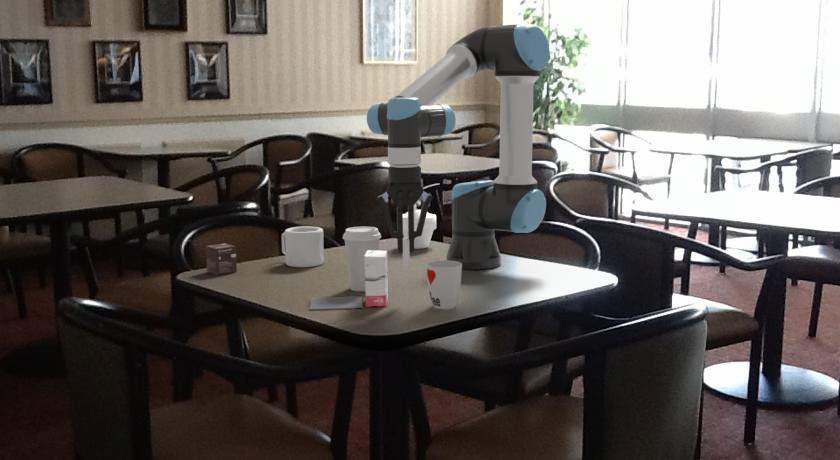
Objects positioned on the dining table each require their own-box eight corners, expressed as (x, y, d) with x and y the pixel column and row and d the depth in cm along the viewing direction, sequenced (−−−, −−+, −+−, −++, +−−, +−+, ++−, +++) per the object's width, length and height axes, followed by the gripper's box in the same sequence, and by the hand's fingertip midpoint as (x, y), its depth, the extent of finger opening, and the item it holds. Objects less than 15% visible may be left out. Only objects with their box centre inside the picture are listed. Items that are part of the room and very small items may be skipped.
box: (217, 275, 258) (216, 248, 257) (206, 272, 263) (205, 245, 261) (237, 272, 262) (236, 245, 261) (226, 269, 267) (224, 243, 265)
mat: (361, 297, 231) (361, 296, 231) (362, 308, 220) (362, 307, 220) (311, 298, 230) (311, 297, 230) (309, 310, 219) (309, 309, 219)
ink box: (386, 307, 222) (385, 256, 220) (364, 307, 222) (363, 256, 220) (388, 298, 230) (387, 249, 228) (368, 298, 230) (367, 249, 228)
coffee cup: (353, 294, 234) (351, 233, 232) (338, 287, 242) (336, 228, 240) (388, 290, 238) (387, 230, 236) (372, 282, 247) (371, 224, 244)
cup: (425, 303, 225) (424, 260, 223) (459, 301, 225) (459, 259, 224) (428, 311, 217) (428, 268, 215) (464, 310, 217) (464, 266, 216)
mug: (331, 262, 274) (330, 227, 272) (307, 269, 265) (306, 233, 263) (294, 258, 281) (293, 224, 279) (270, 264, 272) (268, 229, 270)
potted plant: (395, 250, 290) (394, 167, 286) (402, 243, 302) (401, 163, 297) (437, 251, 288) (436, 167, 284) (442, 244, 299) (441, 163, 295)
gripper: (431, 163, 225) (432, 262, 229) (375, 164, 224) (377, 263, 228) (434, 166, 218) (435, 268, 222) (376, 167, 217) (378, 270, 221)
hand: (406, 266), depth 225 cm, fingers closed
